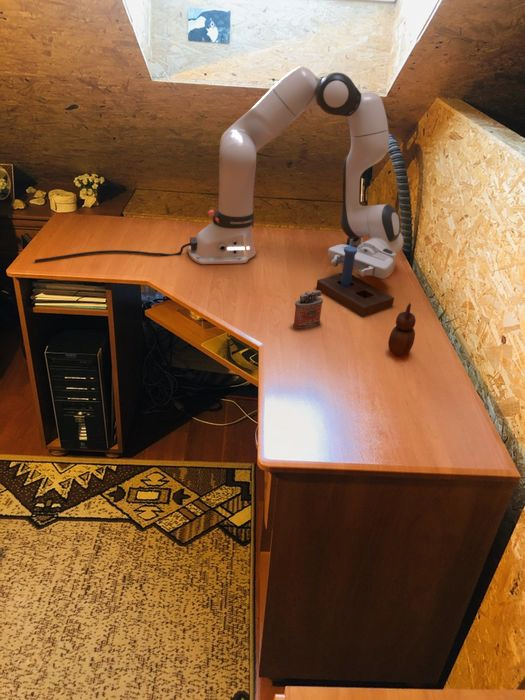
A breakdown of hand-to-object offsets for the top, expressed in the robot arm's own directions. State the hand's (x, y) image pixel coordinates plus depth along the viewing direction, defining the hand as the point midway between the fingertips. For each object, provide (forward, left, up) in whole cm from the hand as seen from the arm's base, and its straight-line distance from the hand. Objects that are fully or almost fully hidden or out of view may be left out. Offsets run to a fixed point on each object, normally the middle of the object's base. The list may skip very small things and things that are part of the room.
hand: (346, 268), depth 168 cm
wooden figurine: (-2, -33, -8) cm, 35 cm away
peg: (+1, 0, -8) cm, 8 cm away
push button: (+22, +33, -8) cm, 40 cm away
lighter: (-19, -14, -8) cm, 25 cm away
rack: (+2, -3, -8) cm, 9 cm away
